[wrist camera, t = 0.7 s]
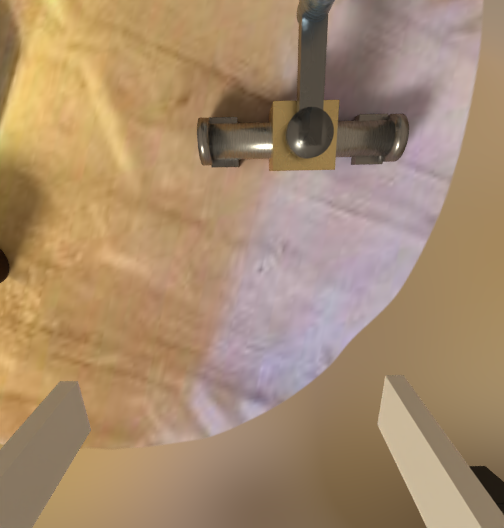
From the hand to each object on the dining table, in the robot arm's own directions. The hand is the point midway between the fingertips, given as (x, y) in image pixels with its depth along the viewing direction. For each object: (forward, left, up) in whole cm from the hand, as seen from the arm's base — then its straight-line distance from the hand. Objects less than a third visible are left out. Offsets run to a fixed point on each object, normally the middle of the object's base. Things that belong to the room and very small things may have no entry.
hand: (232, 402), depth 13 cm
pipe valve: (-13, +6, -25) cm, 29 cm away
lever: (-17, +6, -18) cm, 26 cm away
